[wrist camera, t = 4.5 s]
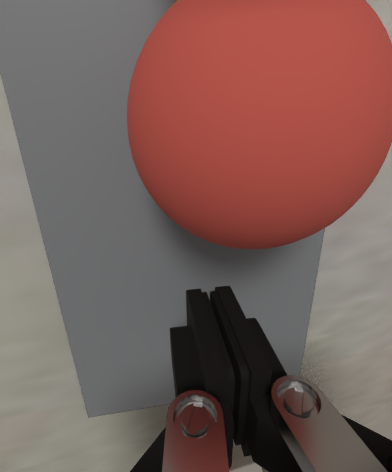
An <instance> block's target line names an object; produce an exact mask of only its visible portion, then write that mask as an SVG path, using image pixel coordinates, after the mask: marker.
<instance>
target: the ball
mask: <svg viewBox="0 0 392 472" xmlns="http://www.w3.org/2000/svg"><path fill="white" fill-rule="evenodd" d="M127 128H128V139H129V144H130V149H131V154H132V158H133V161H134V163H135V166H136V169H137V172H138V174H139V176H140V178H141V180H142V182H143V184H144V186H145V188H146V189H147V191H148V192H149V194H150V195H151V197H152V198H153V200H154V201H155V203H156V204H157V205H158V206H159V207H160V208H161V209H162V211H163V212H164V213H165V214H166V215H167V216H168V217H170V218H171V219H172V220H173V221H174V222H176V223H177V224H178V225H179V226H181V227H182V228H183V229H185V230H187V231H188V232H190V233H191V234H193V235H195V236H197V237H199V238H202V239H204V240H206V241H209V242H212V243H215V244H218V245H221V246H225V247H231V248H238V249H268V248H274V247H280V246H283V245H287V244H290V243H293V242H296V241H299V240H301V239H304V238H306V237H309V236H311V235H313V234H315V233H317V232H319V231H321V230H322V229H324V228H325V227H327V226H329V225H330V224H332V223H333V222H334V221H336V220H337V219H338V218H340V217H341V216H342V215H343V214H344V213H346V212H347V211H348V210H349V209H350V208H351V207H352V206H353V205H354V204H355V203H356V202H357V201H358V200H359V199H360V197H361V196H362V195H363V194H364V192H365V191H366V190H367V189H368V187H369V186H370V185H371V183H372V182H373V180H374V178H375V177H376V175H377V174H378V172H379V170H380V168H381V166H382V164H383V162H384V160H385V158H386V156H387V153H388V151H389V148H390V146H391V143H392V44H391V41H390V39H389V36H388V34H387V31H386V29H385V27H384V26H383V24H382V22H381V20H380V19H379V17H378V15H377V14H376V13H375V11H374V10H373V9H372V8H371V6H370V5H369V4H368V3H367V2H366V1H365V0H177V1H176V2H175V3H174V4H173V5H172V6H171V7H170V8H169V9H168V10H167V11H166V13H165V14H164V15H163V16H162V17H161V19H160V20H159V21H158V22H157V24H156V25H155V27H154V28H153V30H152V32H151V33H150V35H149V37H148V38H147V40H146V41H145V43H144V46H143V48H142V50H141V52H140V55H139V57H138V59H137V62H136V65H135V68H134V72H133V75H132V78H131V82H130V88H129V94H128V102H127Z"/></svg>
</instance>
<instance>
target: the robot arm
mask: <svg viewBox="0 0 392 472" xmlns="http://www.w3.org/2000/svg"><path fill="white" fill-rule="evenodd" d="M186 310H187V326H180V327H172V328H170V345H171V358H172V369H173V378H174V388H175V397H176V398H175V399H174V400H173V401H172V403H171V405H170V406H169V409H168V413H167V419H166V427H165V429H164V430H163V431H162V432H161V434H160V435H159V436H158V437H157V439H156V440H155V441H154V442H153V444H152V445H151V446H150V447H149V449H148V450H147V451H146V452H145V454H144V455H143V456H142V457H141V459H140V460H139V461H138V462H137V464H136V465H135V466H134V467H133V469H132V470H131V471H130V472H229V469H230V467H231V464H232V448H233V439H234V443H235V445H240V444H241V447H242V450H243V453H244V456H250V455H251V456H252V459H253V461H254V462H255V463H257V464H258V465H260V466H261V467H262V470H263V472H392V441H391V440H389V439H387V438H386V437H383V436H382V435H380V434H378V433H376V432H374V431H372V430H370V429H368V428H366V427H364V426H362V425H360V424H358V423H357V422H355V421H353V420H351V419H349V418H347V417H345V416H343V415H341V414H340V413H339V412H338V410H337V409H336V408H335V407H334V406H333V404H332V403H331V402H330V401H329V399H328V398H327V397H326V396H325V395H324V393H323V392H322V391H321V390H320V389H319V388H318V387H317V386H316V385H315V384H314V383H312V382H311V381H309V380H307V379H305V378H302V377H300V376H293V375H289V376H288V375H287V373H286V372H285V370H284V368H283V366H282V364H281V363H280V361H279V359H278V357H277V355H276V353H275V352H274V350H273V348H272V346H271V344H270V342H269V341H268V339H267V337H266V335H265V333H264V332H263V330H262V328H261V326H260V324H259V322H258V321H257V319H256V318H248V319H246V317H245V315H244V313H243V311H242V309H241V307H240V305H239V303H238V301H237V299H236V297H235V295H234V293H233V291H232V289H231V287H230V286H220V287H215V291H210V300H209V297H208V294H207V292H202V291H201V289H190V290H186Z"/></svg>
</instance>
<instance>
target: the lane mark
mask: <svg viewBox="0 0 392 472" xmlns="http://www.w3.org/2000/svg"><path fill="white" fill-rule="evenodd" d="M176 1H177V0H0V73H1V77H2V81H3V84H4V88H5V92H6V96H7V100H8V104H9V108H10V112H11V116H12V120H13V124H14V128H15V132H16V136H17V139H18V143H19V147H20V151H21V155H22V159H23V163H24V167H25V171H26V175H27V179H28V183H29V187H30V191H31V194H32V198H33V202H34V206H35V210H36V214H37V218H38V222H39V226H40V230H41V234H42V238H43V242H44V246H45V249H46V253H47V257H48V261H49V265H50V269H51V273H52V277H53V281H54V285H55V289H56V293H57V297H58V301H59V304H60V308H61V312H62V316H63V320H64V324H65V328H66V332H67V336H68V340H69V344H70V348H71V352H72V356H73V359H74V363H75V367H76V371H77V375H78V379H79V383H80V387H81V391H82V395H83V399H84V403H85V407H86V411H87V414H88V418H90V417H96V416H102V415H108V414H114V413H120V412H125V411H131V410H137V409H143V408H149V407H155V406H161V405H167V404H171V403H172V401H173V400H174V399H175V398H176V397H175V388H174V378H173V369H172V358H171V345H170V328H172V327H180V326H187V310H186V290H190V289H201V291H202V292H207V294H208V297H209V300H210V291H215V287H220V286H230V287H231V289H232V291H233V293H234V295H235V297H236V299H237V301H238V303H239V305H240V307H241V309H242V311H243V313H244V315H245V317H246V319H248V318H256V319H257V321H258V322H259V324H260V326H261V328H262V330H263V332H264V333H265V335H266V337H267V339H268V341H269V342H270V344H271V346H272V348H273V350H274V352H275V353H276V355H277V357H278V359H279V361H280V363H281V364H282V366H283V368H284V370H285V372H286V373H287V375H288V376H289V375H293V376H300V371H301V365H302V360H303V354H304V348H305V342H306V336H307V330H308V324H309V319H310V313H311V307H312V301H313V295H314V289H315V283H316V277H317V272H318V266H319V260H320V254H321V248H322V242H323V236H324V231H325V228H324V229H322V230H321V231H319V232H317V233H315V234H313V235H311V236H309V237H306V238H304V239H301V240H299V241H296V242H293V243H290V244H287V245H283V246H280V247H274V248H268V249H238V248H231V247H225V246H221V245H218V244H215V243H212V242H209V241H206V240H204V239H202V238H199V237H197V236H195V235H193V234H191V233H190V232H188V231H187V230H185V229H183V228H182V227H181V226H179V225H178V224H177V223H176V222H174V221H173V220H172V219H171V218H170V217H168V216H167V215H166V214H165V213H164V212H163V211H162V209H161V208H160V207H159V206H158V205H157V204H156V203H155V201H154V200H153V198H152V197H151V195H150V194H149V192H148V191H147V189H146V188H145V186H144V184H143V182H142V180H141V178H140V176H139V174H138V172H137V169H136V166H135V163H134V161H133V158H132V154H131V149H130V144H129V139H128V128H127V102H128V94H129V88H130V82H131V78H132V75H133V72H134V68H135V65H136V62H137V59H138V57H139V55H140V52H141V50H142V48H143V46H144V43H145V41H146V40H147V38H148V37H149V35H150V33H151V32H152V30H153V28H154V27H155V25H156V24H157V22H158V21H159V20H160V19H161V17H162V16H163V15H164V14H165V13H166V11H167V10H168V9H169V8H170V7H171V6H172V5H173V4H174V3H175V2H176Z"/></svg>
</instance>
